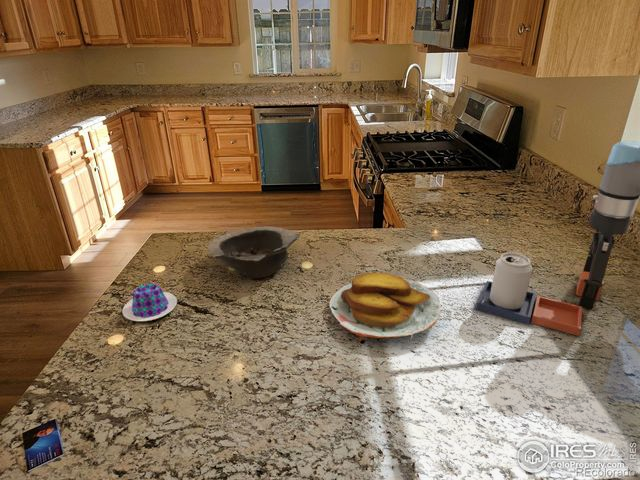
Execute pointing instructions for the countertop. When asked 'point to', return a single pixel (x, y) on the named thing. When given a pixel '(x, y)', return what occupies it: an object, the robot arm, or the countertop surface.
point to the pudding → (149, 303)
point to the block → (582, 284)
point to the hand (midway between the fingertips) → (586, 292)
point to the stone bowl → (253, 250)
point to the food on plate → (385, 306)
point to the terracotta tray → (557, 315)
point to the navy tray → (516, 315)
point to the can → (510, 281)
